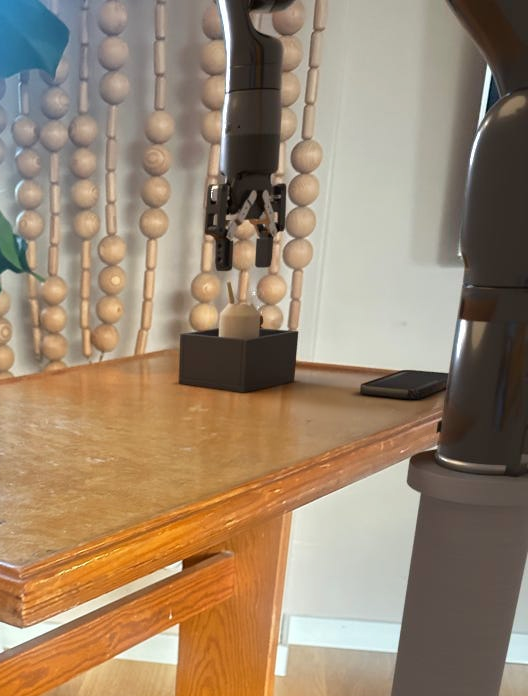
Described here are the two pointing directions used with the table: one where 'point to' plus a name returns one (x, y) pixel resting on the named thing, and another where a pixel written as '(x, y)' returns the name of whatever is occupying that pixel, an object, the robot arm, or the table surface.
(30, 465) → the table surface
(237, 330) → the candle
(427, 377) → the phone
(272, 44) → the robot arm
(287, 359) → the bin
